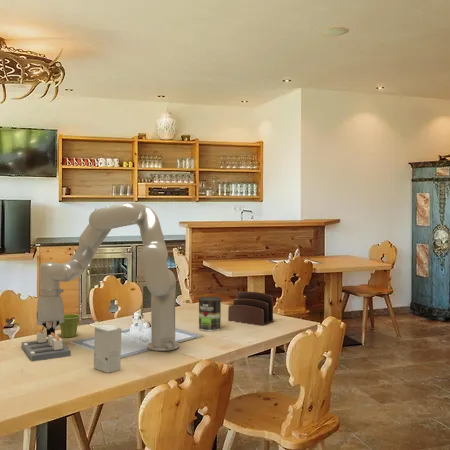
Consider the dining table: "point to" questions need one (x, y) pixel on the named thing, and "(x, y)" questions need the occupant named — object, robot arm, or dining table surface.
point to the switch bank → (43, 350)
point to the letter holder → (252, 308)
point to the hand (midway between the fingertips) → (50, 338)
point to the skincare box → (107, 348)
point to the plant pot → (69, 325)
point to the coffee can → (209, 313)
